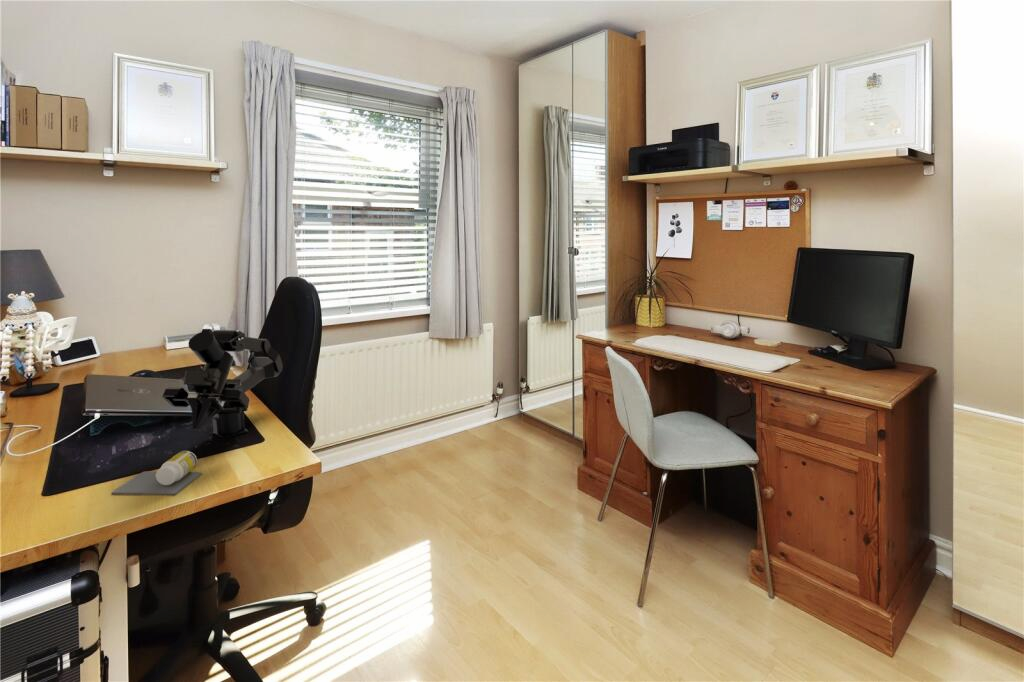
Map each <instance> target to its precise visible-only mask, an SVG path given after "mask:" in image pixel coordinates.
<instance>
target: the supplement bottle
mask: <svg viewBox="0 0 1024 682" xmlns="http://www.w3.org/2000/svg"><path fill="white" fill-rule="evenodd" d="M197 464H198V459H197V456H196V454H195V453H193V452H191V451H189V450H182V451H179V452H177V454H175V455H174V456H172V457H171V458H170V459H168V460H166V461H165V462H163V464H161V467H160V468H159V469H157V471H155V472H156V479H157V481H158V482H159V483H160V484H162V485H170V484H172V483H174V482H176V481H178V480H180V479H181V478H183V477H184V476H185V475H186V474H188V473H189V472H192V471H193V470H194V469H195V468H196V467H197Z"/></svg>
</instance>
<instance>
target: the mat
mask: <svg viewBox="0 0 1024 682" xmlns="http://www.w3.org/2000/svg"><path fill="white" fill-rule="evenodd" d="M156 472H157V471H150V470H149V471H148V470H147V471H142V472H141V473H139V474H137V475H136V476H134V477H133V478H131V479H130V480H128V481H126V482H125V483H123V484H122V485H121V486H119V487H118V488H115V489H114V490H113V491H111V492H110V493H111V495H137V496H138V495H141V496H142V495H144V496H146V495H149V496H151V495H153V496H157V495H158V496H176V495H177V494H179V493H180V492H181V491H183V490H184V489H185V488H186V487H188V486H189V485H190V484H191V482H192V483H193V482H194V481H195V480H196V478H197V477H198V478H199V477H201V476H202V475H203V474H202V473H203V471H190V472H189V473H188V474H186V475H185V476H184V477H183V478H181V479H180V480H178V481H176V482H174V483H172V484H170V485H162V484H160V483H159V482H158V481H157V479H156ZM201 474H202V475H201ZM198 478H197V479H198Z"/></svg>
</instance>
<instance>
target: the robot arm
mask: <svg viewBox="0 0 1024 682" xmlns="http://www.w3.org/2000/svg"><path fill="white" fill-rule="evenodd" d="M188 348H189V349H190V350H191V351H192V352H193V354H194V355H195V356H196V357H197V358H198V359H199V360H200V361H201V362H202V363H204V366H203V369H202V370H201V369H200V370H185V373H184V379H183V385H186V386H187V385H188V386H190V389H191V391H187V390H186V389H185V388H183V387H174V386H173V387H167V388H165V389H164V391H163V392H162V395H161V398H163V399H164V400H165V401H166V402H167V403H168V404H169V405H171V406H172V407H174V408H187V407H188V406H190V409H191V418H192V420H191V421H192V430H194V431H199V430H200V429H201V428H203V426H204V425H205V424H206V423H207V422H209V420H211V419H212V427H213V429H212V432H213V434H215V435H217V436H218V437H220V438H222V439H226V438H230V437H234V436H237V435H241V434H244V433H248V432H249V431H248V429H246V428H245V416H244V412H247V411H248V409H249V405H250V398H249V396H248V395H247V394H246V393H247V392H248V391H250V390H251V389H252V388H254V387H255V386H256V385H257V384H259V383H260V382H261V381H263V380H264V379H270V378H275V377H278V376H279V375H280V374H281V373H282V371H283V369H284V367H283V366H284V364H283V361H282V358H281V355H280V353H279V352H278V351H277V350H275V349H274V348H273V346H271V343H270V341H269V340H268V339H267V338H256V337H252V336H246V333H245V332H242V331H241V330H239V329H237V330H235V329H215V330H212V329H211V328H202V330H201V332H198V333H196V334H194V335H193V336H191V338H190V339H189V341H188ZM243 351H248V352H249V356H248V359H247V363H248V366H249V368H248V369H246V370H244V371H243V372H242V373H240V374H238V375H237V376H236V377H234V378H228V376H229V374H230V370H231V368H232V367H236V364H237V363H236V361H235V358H234V356H233V355H231V353H238V352H243ZM255 353H264V355H266V356H255Z"/></svg>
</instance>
